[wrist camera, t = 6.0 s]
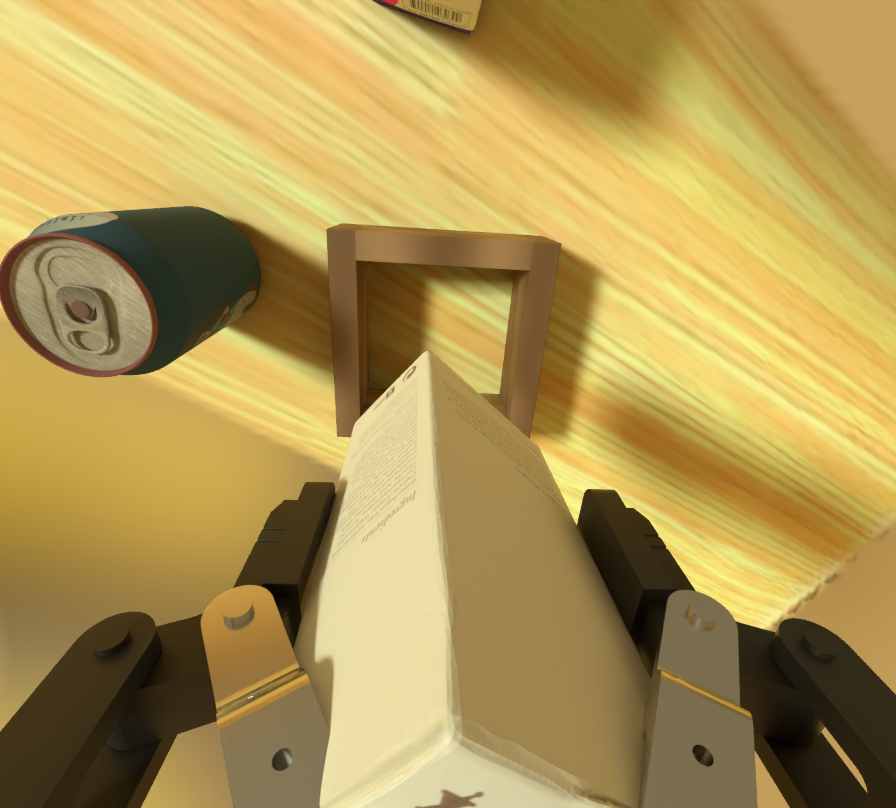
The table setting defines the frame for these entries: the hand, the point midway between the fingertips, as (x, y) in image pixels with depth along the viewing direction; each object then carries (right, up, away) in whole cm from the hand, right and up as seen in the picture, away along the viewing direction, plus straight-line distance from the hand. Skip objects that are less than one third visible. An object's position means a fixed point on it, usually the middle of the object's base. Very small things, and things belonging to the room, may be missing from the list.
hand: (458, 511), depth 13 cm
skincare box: (0, +2, +4) cm, 5 cm away
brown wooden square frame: (-1, +8, +18) cm, 20 cm away
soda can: (-15, +12, +16) cm, 25 cm away
